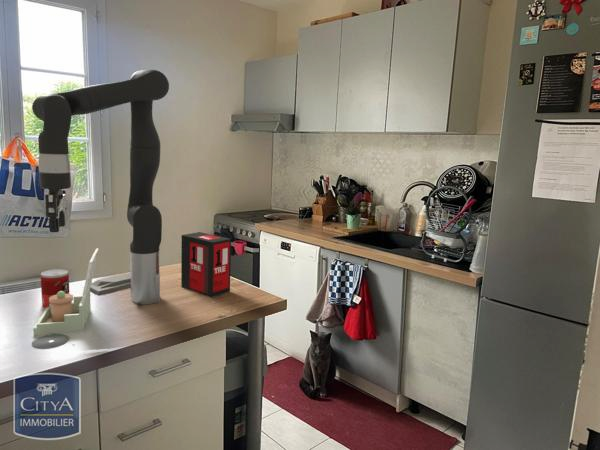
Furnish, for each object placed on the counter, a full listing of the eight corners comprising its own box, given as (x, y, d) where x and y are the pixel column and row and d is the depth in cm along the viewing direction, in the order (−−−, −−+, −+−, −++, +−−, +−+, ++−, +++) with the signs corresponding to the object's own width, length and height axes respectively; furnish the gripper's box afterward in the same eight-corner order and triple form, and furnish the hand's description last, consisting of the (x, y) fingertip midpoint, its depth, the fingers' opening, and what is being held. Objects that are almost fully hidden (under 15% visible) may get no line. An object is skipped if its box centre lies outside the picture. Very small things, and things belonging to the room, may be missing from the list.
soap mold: (83, 289, 158) (83, 280, 157) (133, 278, 173) (133, 269, 173) (98, 296, 152) (98, 287, 151) (149, 284, 167) (149, 275, 167)
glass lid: (88, 285, 135) (91, 285, 135) (80, 303, 120) (83, 303, 120) (96, 248, 133) (98, 248, 134) (89, 261, 119) (92, 262, 119)
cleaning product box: (181, 287, 164) (181, 235, 161) (199, 282, 171) (200, 232, 168) (212, 297, 155) (212, 242, 151) (229, 291, 162) (231, 238, 158)
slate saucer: (71, 335, 120) (71, 332, 120) (65, 348, 112) (65, 346, 112) (36, 338, 117) (36, 335, 117) (28, 352, 109) (28, 349, 109)
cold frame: (90, 312, 136) (89, 287, 135) (83, 333, 121) (82, 305, 120) (47, 314, 132) (45, 289, 131) (33, 337, 118) (32, 308, 116)
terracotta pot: (75, 317, 130) (74, 287, 129) (72, 325, 125) (70, 293, 123) (52, 318, 129) (51, 288, 127) (48, 326, 123) (46, 295, 121)
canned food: (58, 311, 136) (56, 277, 134) (36, 308, 137) (34, 274, 135) (75, 303, 143) (74, 270, 141) (54, 300, 145) (52, 268, 143)
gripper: (65, 173, 114) (68, 234, 117) (74, 169, 127) (76, 224, 130) (32, 172, 111) (36, 234, 114) (45, 168, 125) (48, 224, 127)
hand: (57, 229), depth 122 cm, fingers open, 8 cm apart
